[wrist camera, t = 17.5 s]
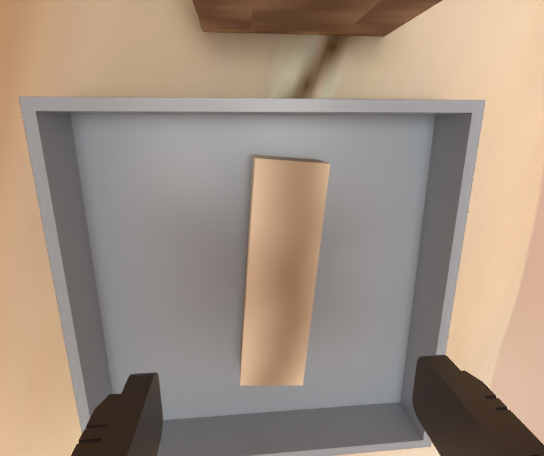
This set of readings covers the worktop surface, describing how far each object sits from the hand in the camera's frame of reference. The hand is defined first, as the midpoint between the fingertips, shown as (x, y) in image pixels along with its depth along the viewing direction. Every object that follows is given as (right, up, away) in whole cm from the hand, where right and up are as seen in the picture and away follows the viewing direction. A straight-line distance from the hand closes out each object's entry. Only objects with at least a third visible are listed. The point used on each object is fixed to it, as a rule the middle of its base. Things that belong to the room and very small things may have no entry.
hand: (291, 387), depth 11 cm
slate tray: (-1, +1, +13) cm, 13 cm away
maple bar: (0, +2, +12) cm, 12 cm away
